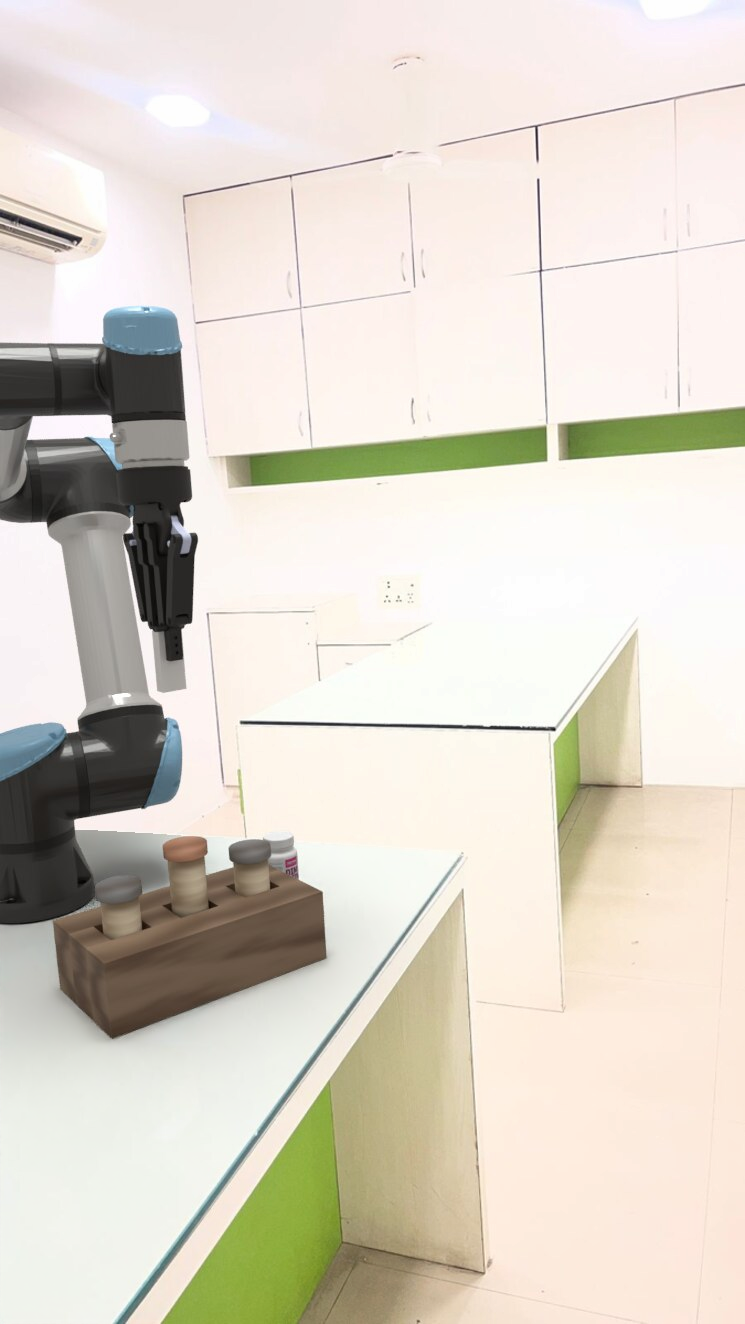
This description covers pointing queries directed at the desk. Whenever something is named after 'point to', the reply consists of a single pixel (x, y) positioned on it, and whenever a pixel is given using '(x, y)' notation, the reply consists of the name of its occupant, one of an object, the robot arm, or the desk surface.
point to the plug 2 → (250, 866)
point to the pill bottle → (283, 852)
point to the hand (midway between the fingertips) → (171, 689)
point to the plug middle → (187, 874)
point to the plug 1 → (120, 905)
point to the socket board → (188, 950)
